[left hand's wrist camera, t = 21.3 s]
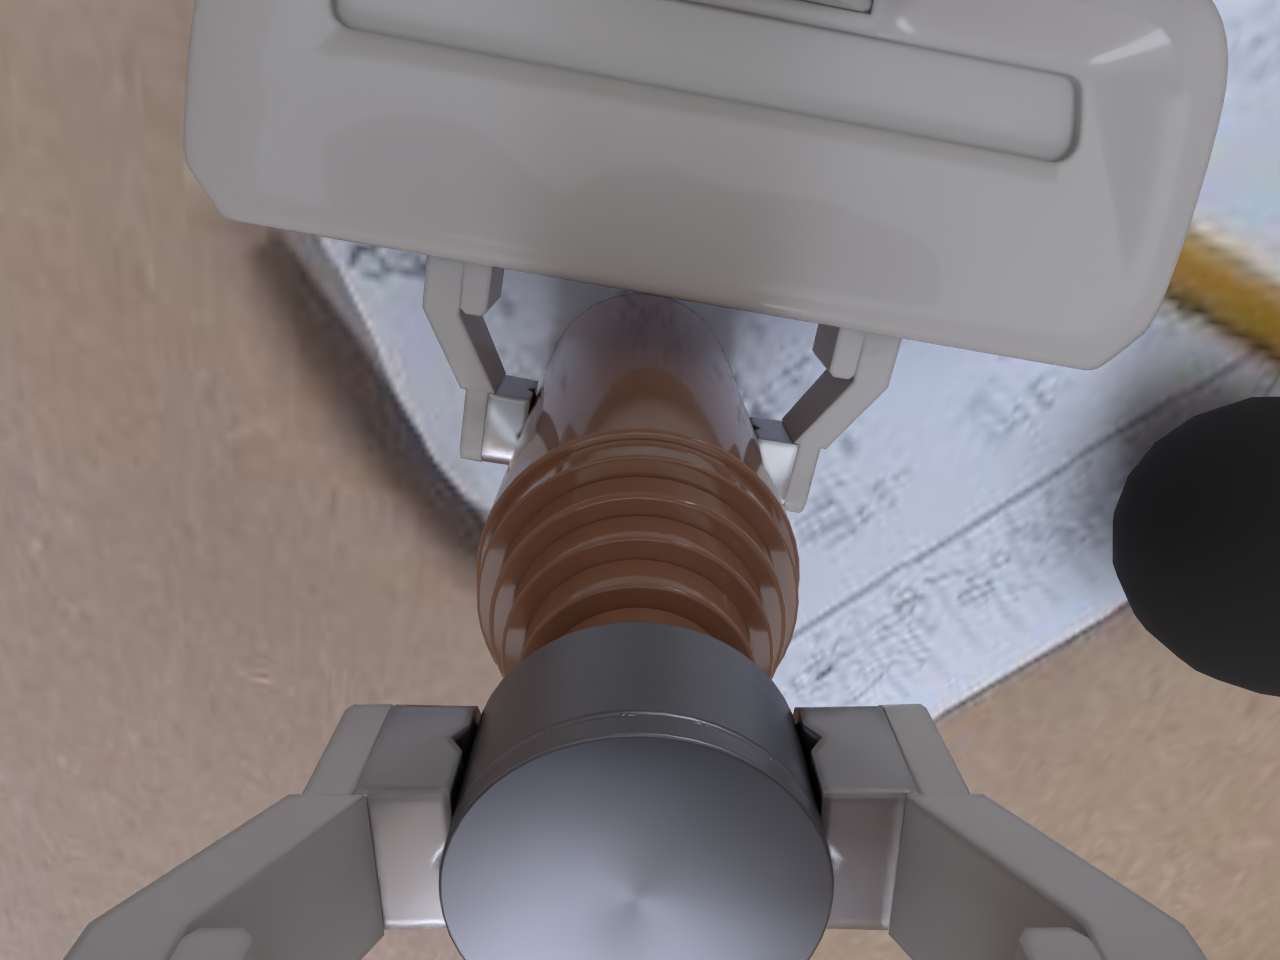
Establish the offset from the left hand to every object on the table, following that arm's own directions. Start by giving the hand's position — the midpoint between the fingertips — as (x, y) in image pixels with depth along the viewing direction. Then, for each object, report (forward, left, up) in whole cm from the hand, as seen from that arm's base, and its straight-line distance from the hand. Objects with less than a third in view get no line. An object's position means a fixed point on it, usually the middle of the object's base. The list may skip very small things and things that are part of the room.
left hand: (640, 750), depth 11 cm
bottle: (0, 0, -17) cm, 17 cm away
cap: (0, 0, +2) cm, 2 cm away
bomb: (-3, -17, -17) cm, 24 cm away
